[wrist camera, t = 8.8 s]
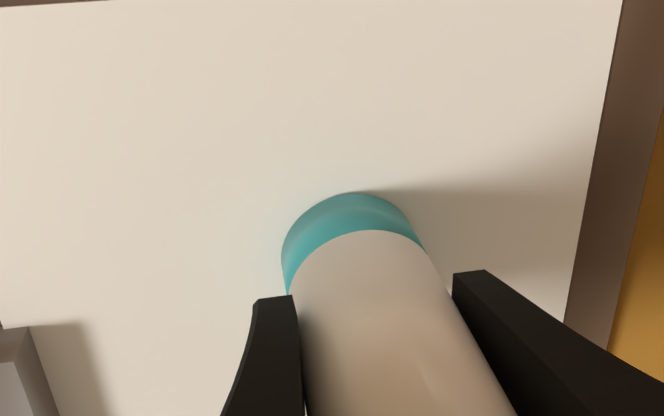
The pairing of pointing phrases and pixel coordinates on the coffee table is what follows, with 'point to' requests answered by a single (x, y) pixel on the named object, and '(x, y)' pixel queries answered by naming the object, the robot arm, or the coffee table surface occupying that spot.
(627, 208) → the clipboard
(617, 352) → the coffee table surface
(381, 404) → the marker
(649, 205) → the coffee table surface
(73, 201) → the white flat rectangle
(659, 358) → the coffee table surface
